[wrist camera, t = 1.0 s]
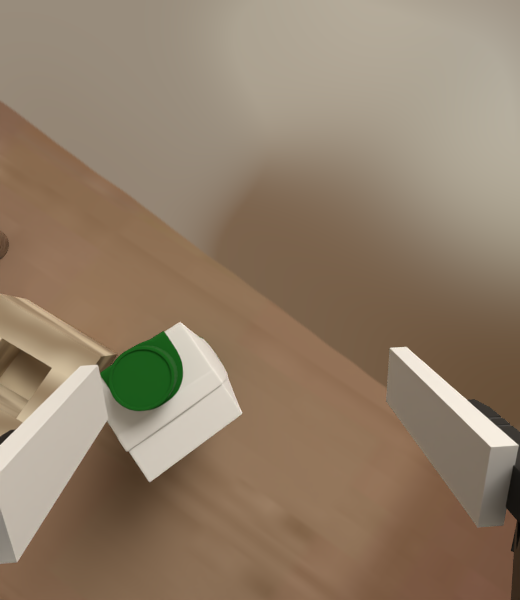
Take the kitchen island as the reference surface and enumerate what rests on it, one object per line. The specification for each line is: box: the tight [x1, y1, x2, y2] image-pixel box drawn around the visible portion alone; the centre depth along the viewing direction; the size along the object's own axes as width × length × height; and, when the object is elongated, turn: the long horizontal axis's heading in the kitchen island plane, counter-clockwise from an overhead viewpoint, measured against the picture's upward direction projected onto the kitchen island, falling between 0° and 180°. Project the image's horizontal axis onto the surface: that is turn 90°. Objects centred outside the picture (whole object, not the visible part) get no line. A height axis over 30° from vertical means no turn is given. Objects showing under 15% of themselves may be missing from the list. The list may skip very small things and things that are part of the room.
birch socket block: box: [0, 294, 117, 436], centre depth 36 cm, size 12×12×6 cm
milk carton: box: [100, 322, 242, 482], centre depth 31 cm, size 9×9×20 cm
